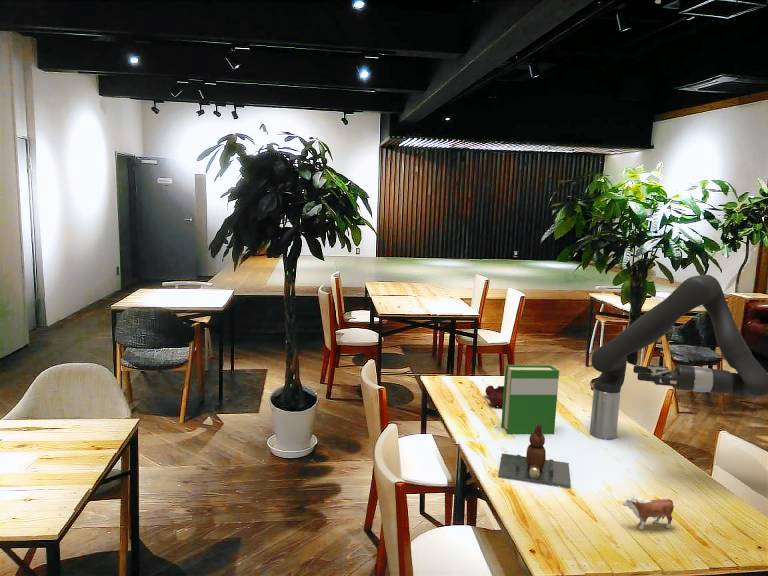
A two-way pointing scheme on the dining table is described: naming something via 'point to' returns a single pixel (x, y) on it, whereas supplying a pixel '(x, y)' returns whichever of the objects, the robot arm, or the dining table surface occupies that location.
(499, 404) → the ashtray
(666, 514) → the bull figurine
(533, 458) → the wooden figurine
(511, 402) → the hardback book
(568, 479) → the metal mounting plate
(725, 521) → the dining table surface
